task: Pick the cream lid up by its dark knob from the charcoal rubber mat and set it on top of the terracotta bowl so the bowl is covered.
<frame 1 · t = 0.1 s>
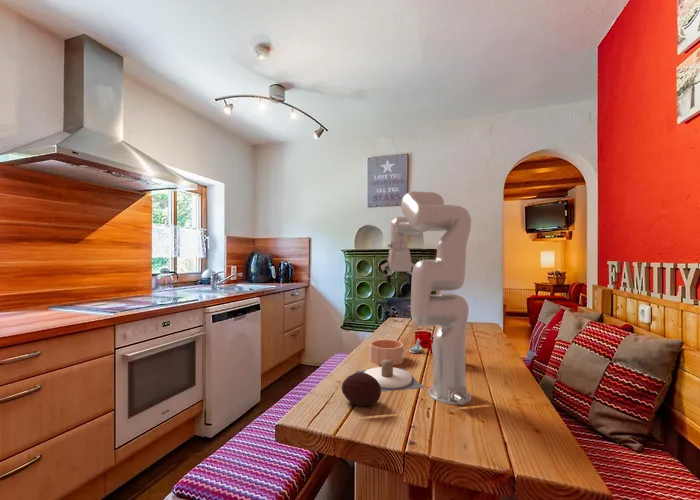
hand: (399, 284, 141), 31 cm above the table, tool pointing down, fingers open, 9 cm apart
teacup: (444, 362, 128), on the table
lid: (387, 378, 109), point 1 cm above the table, touching mat
mat: (387, 380, 109), on the table
potato: (361, 405, 91), on the table
pacifier: (415, 352, 142), on the table
bowl: (386, 360, 130), on the table
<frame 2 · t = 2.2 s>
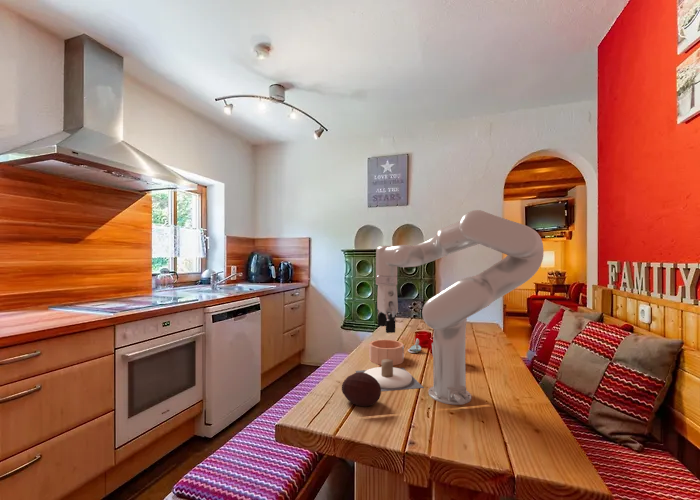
hand: (386, 329, 109), 18 cm above the table, tool pointing down, fingers open, 9 cm apart
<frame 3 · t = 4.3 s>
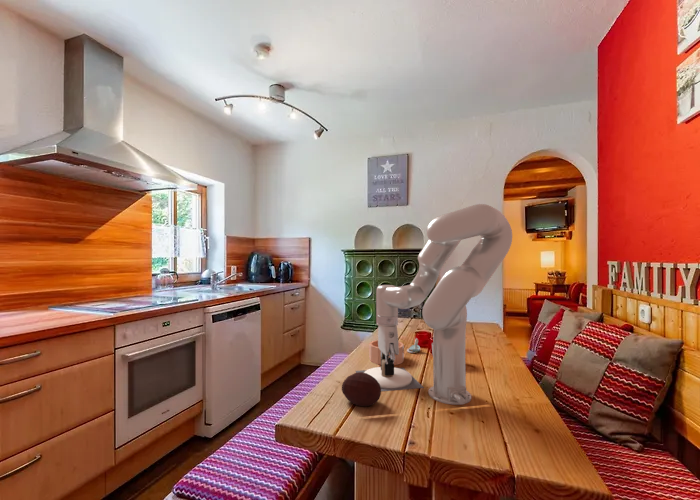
hand: (387, 372, 109), 3 cm above the table, tool pointing down, fingers closed on lid, 4 cm apart
lid: (387, 378, 109), point 1 cm above the table, touching gripper, mat
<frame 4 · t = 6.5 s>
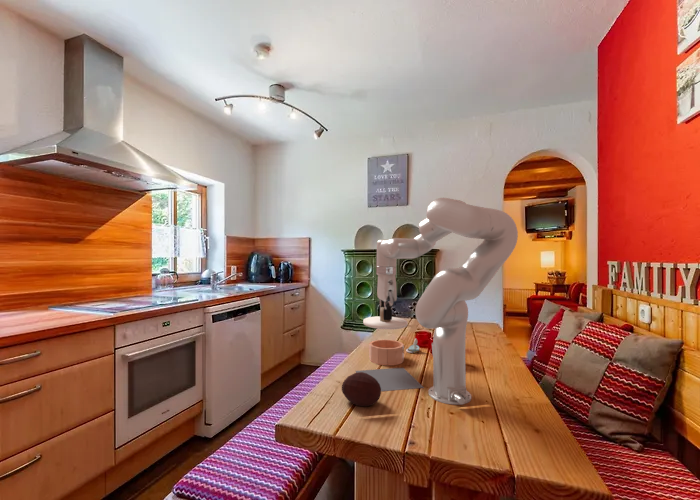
hand: (385, 317, 120), 20 cm above the table, tool pointing down, fingers closed on lid, 4 cm apart
lid: (385, 323, 120), point 18 cm above the table, touching gripper
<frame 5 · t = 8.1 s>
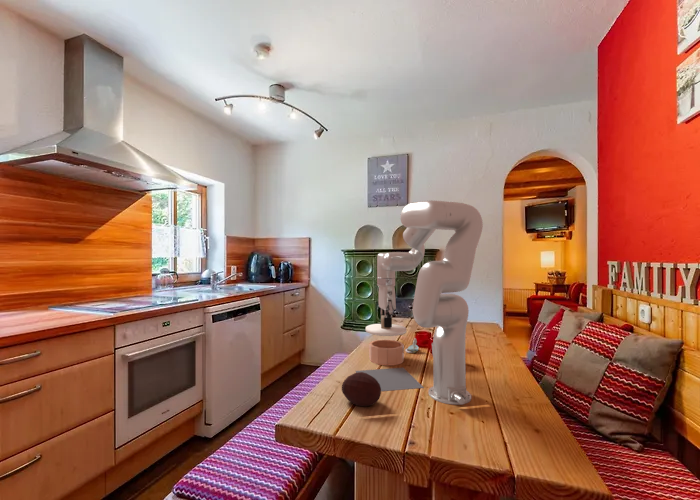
hand: (386, 325, 130), 15 cm above the table, tool pointing down, fingers closed on lid, 4 cm apart
lid: (385, 330, 130), point 12 cm above the table, touching gripper
when the fingers open (10 cm above the table, at t = 9.1 s): lid drops 1 cm, resting on bowl.
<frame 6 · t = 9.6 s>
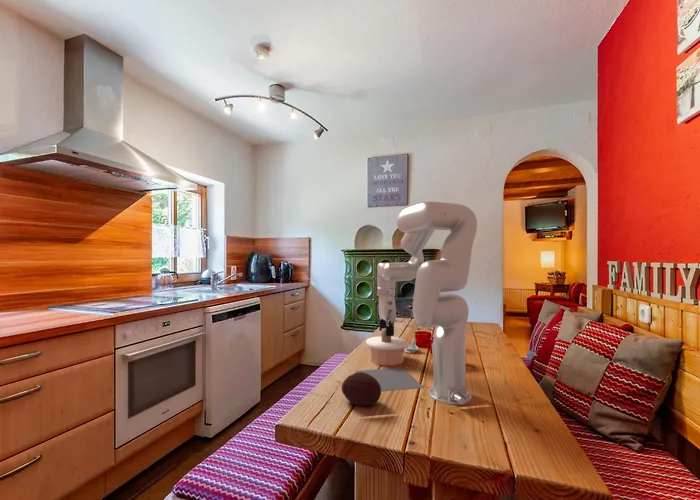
hand: (386, 333, 130), 12 cm above the table, tool pointing down, fingers open, 9 cm apart
lid: (386, 344, 130), point 7 cm above the table, touching bowl
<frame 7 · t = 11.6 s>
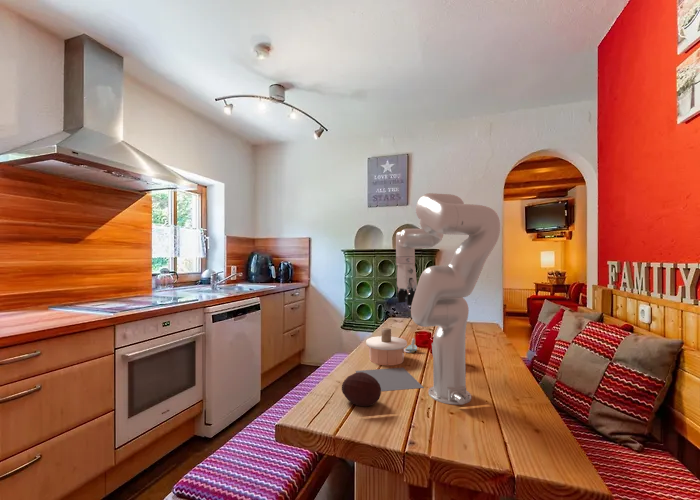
hand: (406, 303, 126), 25 cm above the table, tool pointing down, fingers open, 9 cm apart
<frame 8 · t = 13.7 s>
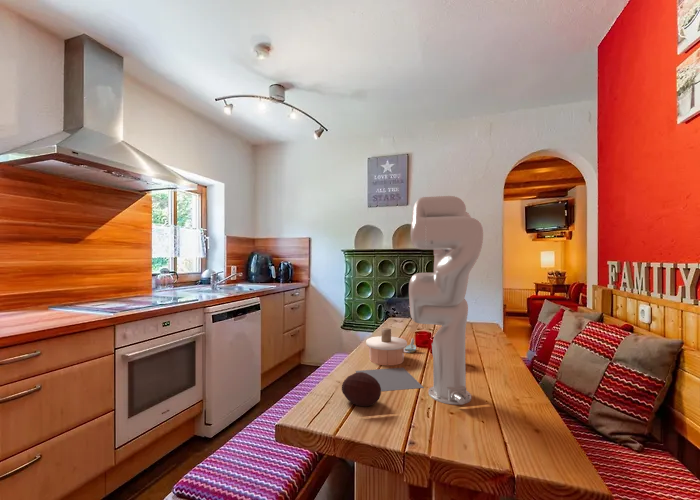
hand: (444, 295, 120), 28 cm above the table, tool pointing down, fingers open, 9 cm apart
at the end: lid 0.1 cm off-centre on the bowl, point 7.0 cm above the bowl's base; lid tilted 0°; the gripper is holding nothing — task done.
